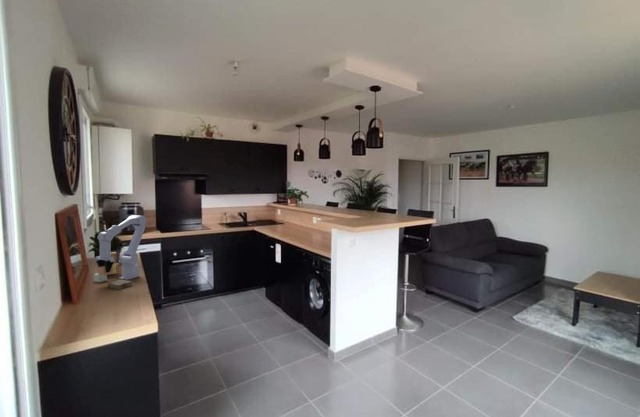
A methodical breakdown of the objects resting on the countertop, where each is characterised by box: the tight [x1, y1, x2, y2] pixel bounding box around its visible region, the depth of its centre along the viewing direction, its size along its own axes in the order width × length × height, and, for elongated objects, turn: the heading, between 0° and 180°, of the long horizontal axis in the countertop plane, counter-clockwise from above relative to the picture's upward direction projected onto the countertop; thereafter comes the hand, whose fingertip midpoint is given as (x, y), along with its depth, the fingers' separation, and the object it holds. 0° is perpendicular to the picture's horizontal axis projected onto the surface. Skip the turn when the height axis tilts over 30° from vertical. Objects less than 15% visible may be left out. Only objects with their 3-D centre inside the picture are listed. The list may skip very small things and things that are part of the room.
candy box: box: [110, 251, 117, 275], centre depth 216 cm, size 9×4×15 cm, turn 129°
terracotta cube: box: [97, 266, 112, 276], centre depth 192 cm, size 5×5×5 cm
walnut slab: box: [107, 279, 133, 290], centre depth 191 cm, size 9×9×3 cm
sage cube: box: [93, 272, 108, 283], centre depth 200 cm, size 5×5×5 cm
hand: (105, 271), depth 193 cm, fingers closed on terracotta cube, 5 cm apart
